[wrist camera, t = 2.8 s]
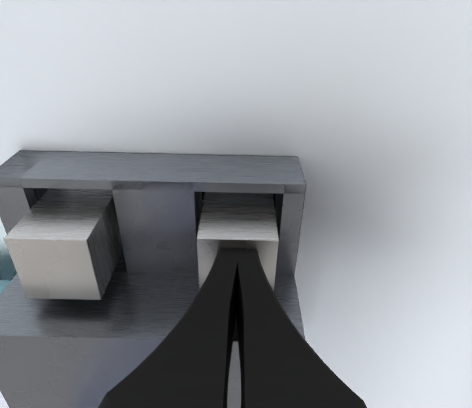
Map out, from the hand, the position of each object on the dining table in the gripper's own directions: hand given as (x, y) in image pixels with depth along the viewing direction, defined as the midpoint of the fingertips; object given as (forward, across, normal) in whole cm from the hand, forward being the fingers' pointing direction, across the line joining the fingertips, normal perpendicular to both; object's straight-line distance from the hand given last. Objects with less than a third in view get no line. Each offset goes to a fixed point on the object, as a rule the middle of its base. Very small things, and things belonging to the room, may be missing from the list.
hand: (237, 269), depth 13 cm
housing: (+5, +4, +3) cm, 6 cm away
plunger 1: (+3, +6, 0) cm, 7 cm away
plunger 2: (+4, 0, 0) cm, 4 cm away
